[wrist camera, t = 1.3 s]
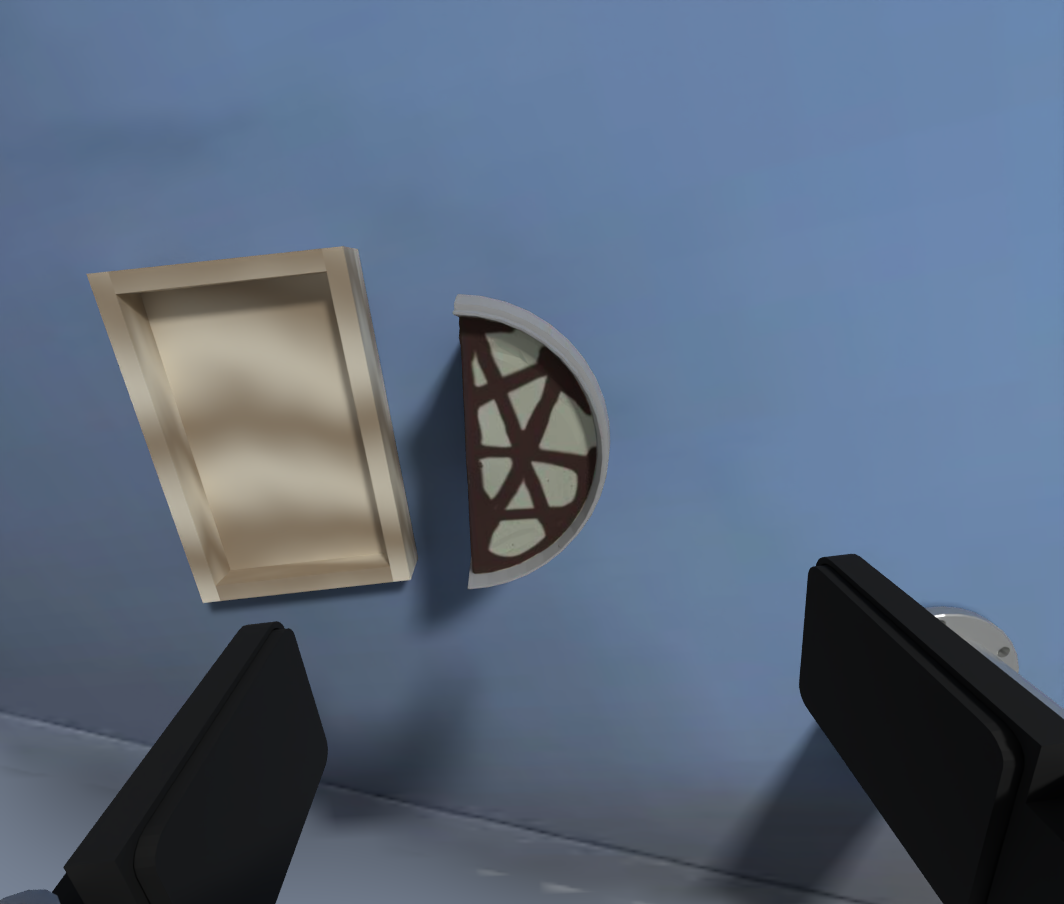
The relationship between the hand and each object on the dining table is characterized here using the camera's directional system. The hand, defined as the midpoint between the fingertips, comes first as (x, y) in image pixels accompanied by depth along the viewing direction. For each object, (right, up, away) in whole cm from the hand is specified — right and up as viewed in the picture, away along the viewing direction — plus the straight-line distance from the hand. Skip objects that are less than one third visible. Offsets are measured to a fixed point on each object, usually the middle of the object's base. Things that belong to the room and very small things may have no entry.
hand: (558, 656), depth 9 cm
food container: (-1, +7, +20) cm, 22 cm away
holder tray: (-14, +5, +20) cm, 25 cm away
